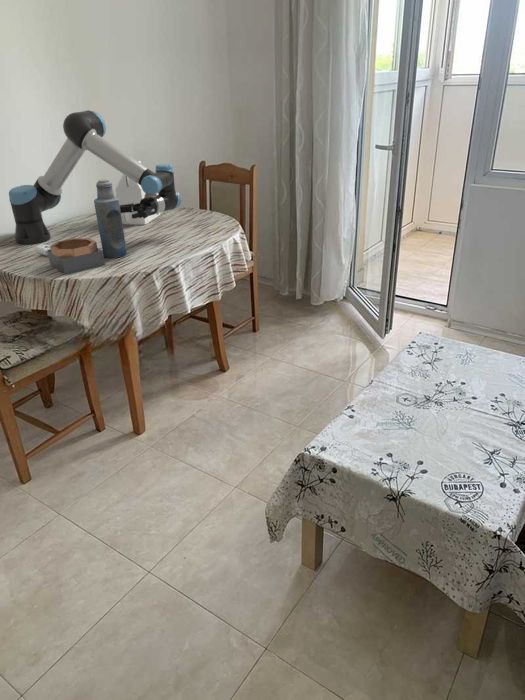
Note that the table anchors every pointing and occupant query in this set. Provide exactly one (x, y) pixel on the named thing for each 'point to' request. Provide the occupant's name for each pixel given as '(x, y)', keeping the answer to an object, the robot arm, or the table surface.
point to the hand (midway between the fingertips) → (113, 216)
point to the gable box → (132, 198)
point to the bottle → (109, 221)
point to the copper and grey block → (75, 255)
